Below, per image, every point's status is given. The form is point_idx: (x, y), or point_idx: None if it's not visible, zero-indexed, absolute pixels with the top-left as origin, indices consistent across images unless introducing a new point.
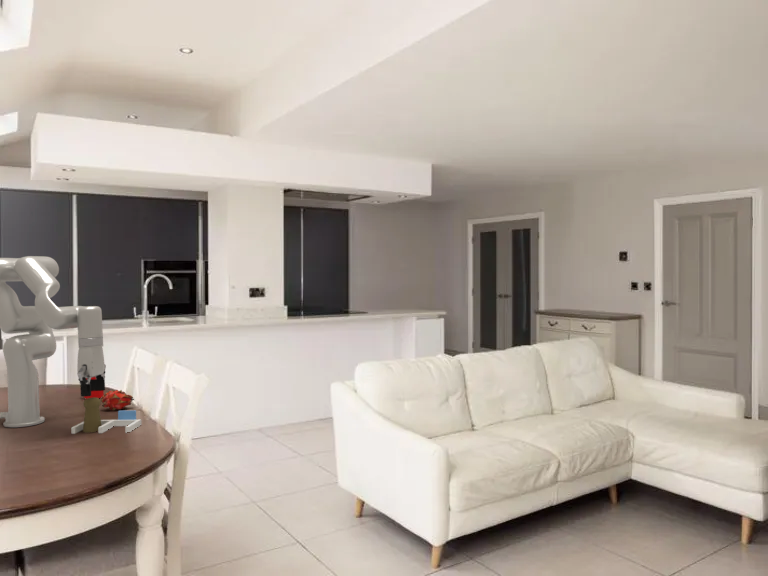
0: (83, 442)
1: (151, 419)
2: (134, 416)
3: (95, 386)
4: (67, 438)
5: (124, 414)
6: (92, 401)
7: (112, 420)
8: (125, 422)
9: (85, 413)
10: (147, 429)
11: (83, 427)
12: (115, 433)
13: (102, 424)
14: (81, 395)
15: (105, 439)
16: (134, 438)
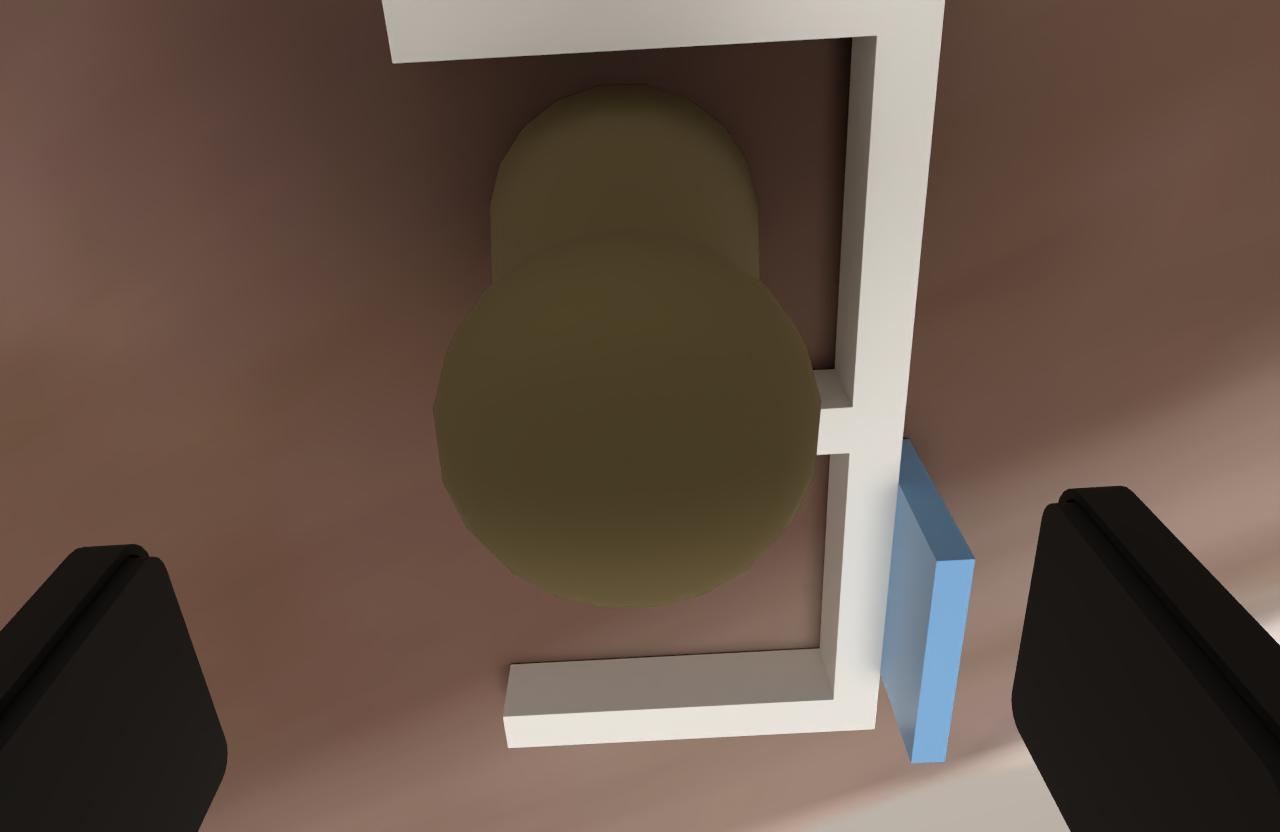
0: (40, 426)
1: None
2: (889, 695)
3: (1110, 595)
4: (141, 94)
5: (909, 608)
6: (483, 542)
7: (859, 428)
8: (834, 570)
9: (518, 251)
10: (666, 787)
11: (535, 138)
12: (484, 577)
13: (849, 265)
14: (82, 565)
15: (225, 592)
16: (322, 809)
